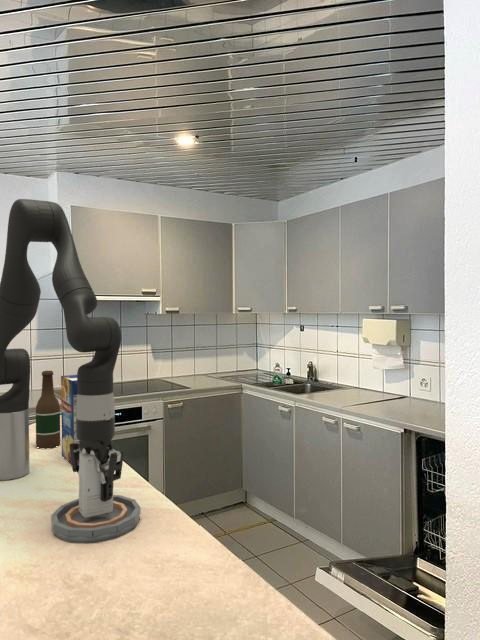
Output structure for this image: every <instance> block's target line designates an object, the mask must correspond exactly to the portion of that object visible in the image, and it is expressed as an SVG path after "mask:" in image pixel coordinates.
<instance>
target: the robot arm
mask: <svg viewBox="0 0 480 640" xmlns="http://www.w3.org/2000/svg"><path fill="white" fill-rule="evenodd" d="M6 234H7V235H6V247H5V254H4V255H5V256H4V262H3V263H4V264H3V266H2V267H3V268H2V272H1V273H2V274H1V278H0V386H1V385H2V386H3V385H11V387H10V389H8V390H7V391H6V392H5V393H3V394H1V395H0V481H7V480H15V479H18V478H22V477H24V476H27V475H28V474H29V473H30V415H29V414H30V412H29V411H30V410H29V409H30V407H29V406H30V405H29V402H30V384H31V383H30V382H31V380H30V379H31V359H30V355H29V352H28V351H27V349H25V348H8V346H9V345H10V343H11V342H12V341H13V340H14V339H15V337H16V336H18V335H19V334H20V333H21V332H23V330H25V328H26V327H27V326H29V324H31V322H32V321H34V318H35V317H36V314H37V313H38V312H37V311H38V307H39V303H40V299H41V294H42V293H41V292H42V289H41V287H40V283H39V281H38V279H37V277H36V275H35V273H34V272H33V269H32V268H31V266H30V263H29V260H28V250H29V249H28V248H29V244H30V243H51V244H52V246H54V248H55V250H56V260H55V263H54V266H53V269H52V272H51V273H52V276H51V282H52V287H53V289H54V293H55V294H56V298H57V299H58V301H59V303H60V305H61V307H62V310H63V315H64V317H63V318H64V322H65V331H66V332H65V333H66V339H67V341H68V343H69V345H70V346H71V348H73V349H74V351H76V352H78V353H94V355H93V358H92V359H91V360H90V361H88V362H86V363H84V364H82V365H80V366H79V367H78V369H77V372H76V373H77V374H76V375H77V393H78V394H77V402H76V437H77V439H78V440H79V441H78V442H75V443H71V444H70V454H71V462H72V466H71V469H72V472H73V473H77V475H78V477H79V465H77V459H79V453H81V454H85V455H86V454H91V457H92V458H93V459H94V465H95V468H96V472H97V473H99V475H100V478H101V482H102V483H101V501H103V502H106V501H108V500H110V499H111V498H112V495H114V482H115V481H117V480H120V479H121V478H122V472H123V471H122V470H123V469H122V468H123V464H124V463H123V461H124V454H125V453H124V451H123V450H116V449H114V446H113V444H112V440H113V438H114V437H115V433H116V431H115V430H116V429H115V428H116V423H115V422H116V421H115V420H116V419H115V417H116V416H115V415H116V414H115V413H116V412H115V407H116V406H115V405H116V404H115V398H114V397H115V396H114V372H115V371H114V369H115V367H116V364H117V359H118V357H119V356H118V355H119V351H120V348H121V342H122V329H121V327H120V324H119V323H118V321H117V320H116V319H115V318H113V317H109V316H88V315H89V314H91V313H93V311H95V310H96V309H97V306H98V299H97V296H96V294H95V292H94V290H93V288H92V285H91V284H90V282H89V280H88V278H87V276H86V274H85V272H84V270H83V267H82V264H81V261H80V258H79V256H78V255H79V254H78V251H77V248H76V244H75V240H74V237H73V234H72V231H71V228H70V224H69V220H68V217H67V216H66V213H65V211H64V209H63V207H62V206H61V205H59V204H58V203H57V202H54V201H48V200H41V199H40V200H38V199H30V198H29V199H27V198H18V199H16V200H14V202H13V203H12V205H11V207H10V209H9V214H8V223H7V231H6ZM109 457H110V458H109ZM108 460H109V464H108V465H107V466H105V467H102V466H101V465H103V464H105V463H106V462H107V461H108ZM105 470H107V473H108V476H106V474H105Z"/></svg>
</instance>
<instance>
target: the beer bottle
mask: <svg viewBox="0 0 480 640" xmlns="http://www.w3.org/2000/svg"><path fill="white" fill-rule="evenodd" d="M53 375H54V371H53V370H44V371H41V377H42V381H41V383H42V384H41V396H40V397H39V399H38V401H37V404H36V405H35V445H36V448H37V447H39V448H38V449H40V448H50V449H54V448H53V447H55V448H57V447H56V446H58V447H60V446H61V406H60V403H59V400H58V398H57V397H56V395H55V391H54V377H53ZM59 445H60V446H59Z"/></svg>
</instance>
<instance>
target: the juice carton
mask: <svg viewBox="0 0 480 640" xmlns="http://www.w3.org/2000/svg"><path fill="white" fill-rule="evenodd" d="M60 387H61V388H60V391H61V392H60V395H61V396H60V400H61V401H60V404H61V406H60V418H61V457H62V456H63V457H64V458H63V457H62V458H63V459H64V460H65V459H66V460H67V461H68V462H69V463H70V464H71V465H72V462H71V454H70V444H71V443H75V442H78V441H79V440H78V439H77V437H76V402H77V394H78V393H77V374H71V375H61V376H60ZM66 460H65V461H66ZM67 461H66V462H67ZM68 462H67V463H68ZM69 463H68V464H69ZM70 464H69V465H70ZM77 465H79V459H77Z"/></svg>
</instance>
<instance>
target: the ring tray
mask: <svg viewBox="0 0 480 640" xmlns="http://www.w3.org/2000/svg"><path fill="white" fill-rule="evenodd" d="M141 510H142V509H141V506H140V504H139V503H138V501H137V500H136V499H134V498H131V497H128V496H124V495H120V494H113V511H112V512H109V513H105V514H100V515H96V516H91V517H87V518H84V517H83V516H82V514H81V513H80V511H79V498H77V499H74V500H71V501H69V502H65V503H64V504H61V505H60V506H59V507H58V508H56V510H54V511H53V513H52V514H50V522H51V525H52V528H51V530H52V531H51V532H52V533H53V535H54V536H55V537H56V538H58V539H59V540H62V541H64V542H67V543H76V544H89V543H90V544H91V543H100V542H103V541H108V540H113V539H116V538H119V537H122V536H124V535H126V534H128V533H129V532H131V531H132V530H133V529H135V527H136V526H137V525H138V524H139V521H140V516H141Z"/></svg>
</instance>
